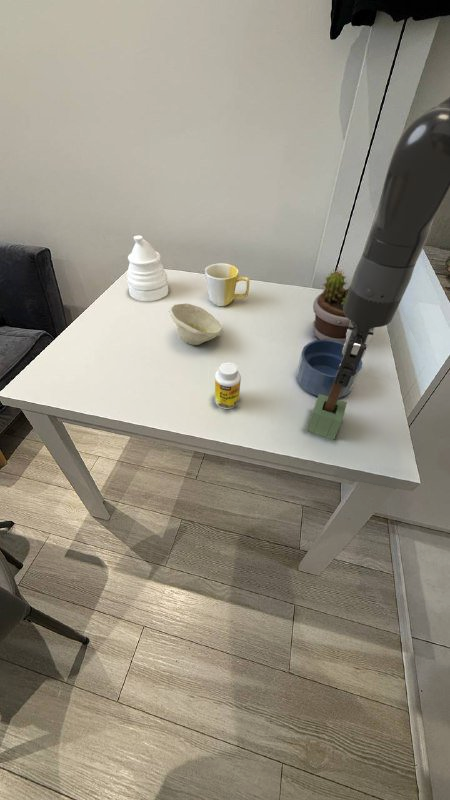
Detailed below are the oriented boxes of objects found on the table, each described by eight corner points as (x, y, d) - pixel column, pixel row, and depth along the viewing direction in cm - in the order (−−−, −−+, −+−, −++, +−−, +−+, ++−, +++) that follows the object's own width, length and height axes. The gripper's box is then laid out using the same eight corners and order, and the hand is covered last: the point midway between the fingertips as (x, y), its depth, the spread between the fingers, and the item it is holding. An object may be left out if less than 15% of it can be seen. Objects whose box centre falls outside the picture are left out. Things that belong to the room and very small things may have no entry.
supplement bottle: (216, 411, 74) (216, 377, 66) (213, 393, 77) (213, 360, 70) (240, 409, 74) (243, 375, 67) (236, 391, 78) (239, 358, 71)
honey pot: (160, 303, 104) (153, 245, 91) (123, 297, 106) (110, 240, 93) (173, 285, 113) (168, 229, 100) (139, 280, 115) (129, 224, 102)
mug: (200, 306, 104) (200, 275, 96) (211, 291, 111) (211, 261, 103) (242, 314, 101) (244, 282, 94) (250, 299, 108) (253, 268, 100)
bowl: (229, 351, 88) (231, 319, 81) (178, 360, 85) (175, 328, 78) (213, 321, 98) (214, 291, 91) (167, 329, 95) (163, 297, 88)
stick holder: (338, 420, 73) (347, 402, 68) (333, 440, 69) (341, 421, 65) (312, 412, 74) (319, 393, 70) (306, 430, 70) (312, 412, 66)
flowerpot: (361, 329, 98) (387, 263, 83) (352, 358, 88) (380, 289, 74) (313, 317, 102) (330, 251, 87) (300, 343, 92) (316, 275, 77)
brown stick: (327, 424, 72) (356, 351, 57) (325, 429, 71) (354, 357, 56) (319, 421, 72) (346, 349, 58) (317, 427, 71) (344, 354, 57)
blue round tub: (355, 372, 84) (365, 349, 79) (346, 408, 75) (357, 384, 70) (303, 357, 88) (309, 334, 82) (289, 389, 79) (295, 366, 74)
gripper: (400, 317, 43) (359, 402, 54) (406, 273, 52) (370, 354, 64) (343, 303, 45) (315, 388, 56) (358, 263, 54) (331, 343, 65)
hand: (344, 370), depth 60 cm, fingers open, 8 cm apart
